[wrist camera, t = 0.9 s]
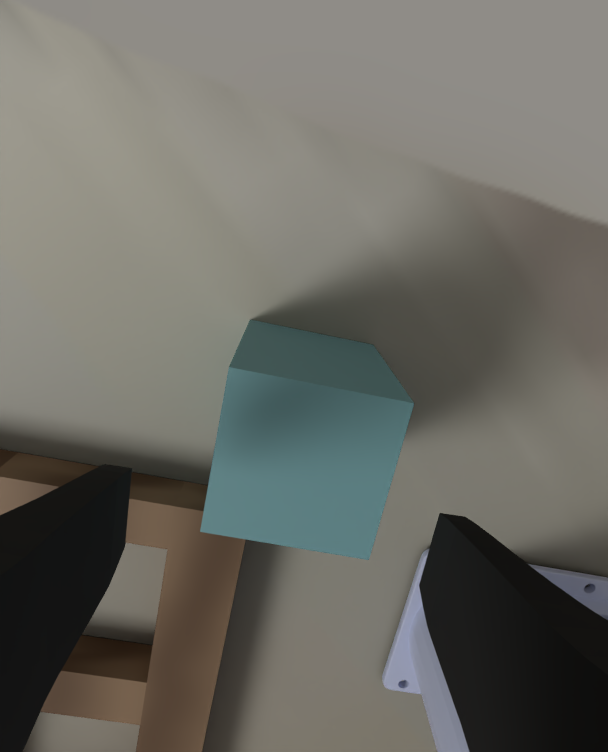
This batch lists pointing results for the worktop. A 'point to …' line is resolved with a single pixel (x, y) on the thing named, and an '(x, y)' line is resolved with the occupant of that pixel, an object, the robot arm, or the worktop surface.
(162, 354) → the worktop surface
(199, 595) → the walnut frame
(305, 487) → the teal block
